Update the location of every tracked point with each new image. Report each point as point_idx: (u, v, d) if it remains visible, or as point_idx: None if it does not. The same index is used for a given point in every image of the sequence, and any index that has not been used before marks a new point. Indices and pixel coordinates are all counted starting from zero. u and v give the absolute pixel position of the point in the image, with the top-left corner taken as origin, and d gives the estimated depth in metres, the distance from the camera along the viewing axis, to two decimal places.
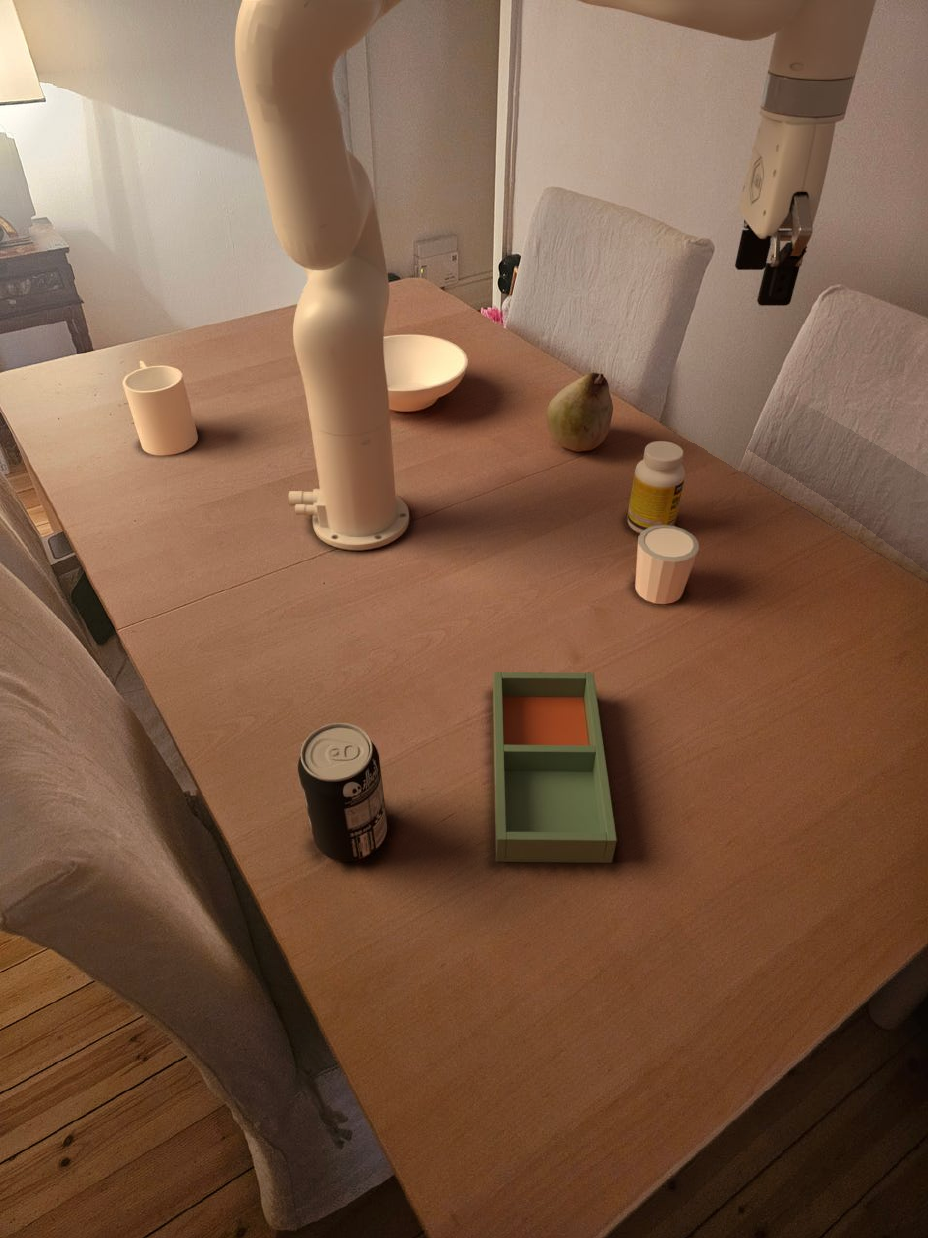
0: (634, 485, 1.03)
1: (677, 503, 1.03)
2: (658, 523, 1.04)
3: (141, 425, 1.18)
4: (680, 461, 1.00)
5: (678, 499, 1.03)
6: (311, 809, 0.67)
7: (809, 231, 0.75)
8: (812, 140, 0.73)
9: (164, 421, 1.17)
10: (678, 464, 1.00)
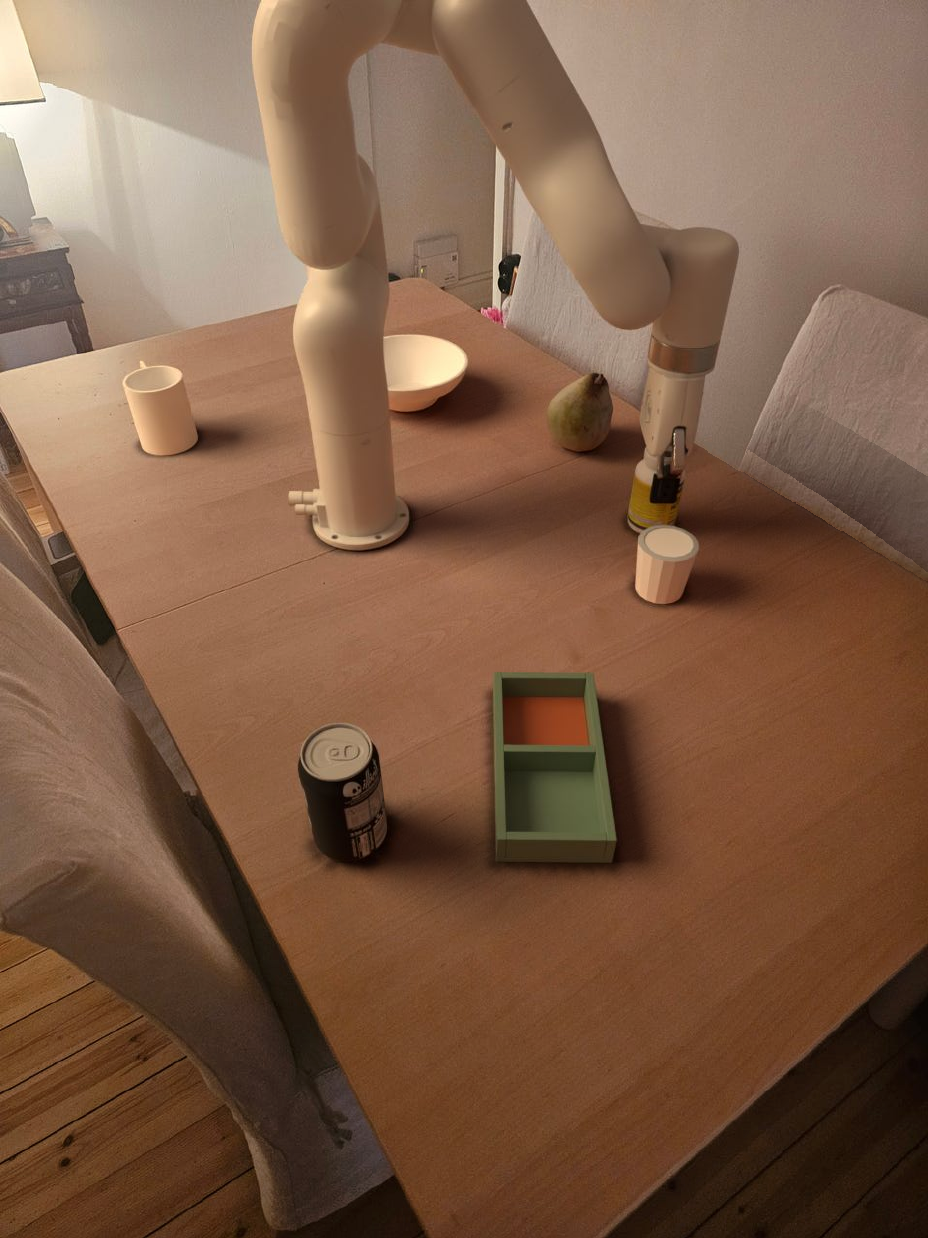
0: (634, 485, 1.03)
1: (677, 503, 1.03)
2: (658, 523, 1.04)
3: (141, 425, 1.18)
4: None
5: (678, 499, 1.03)
6: (311, 809, 0.67)
7: (681, 468, 0.93)
8: (686, 390, 0.90)
9: (164, 421, 1.17)
10: None
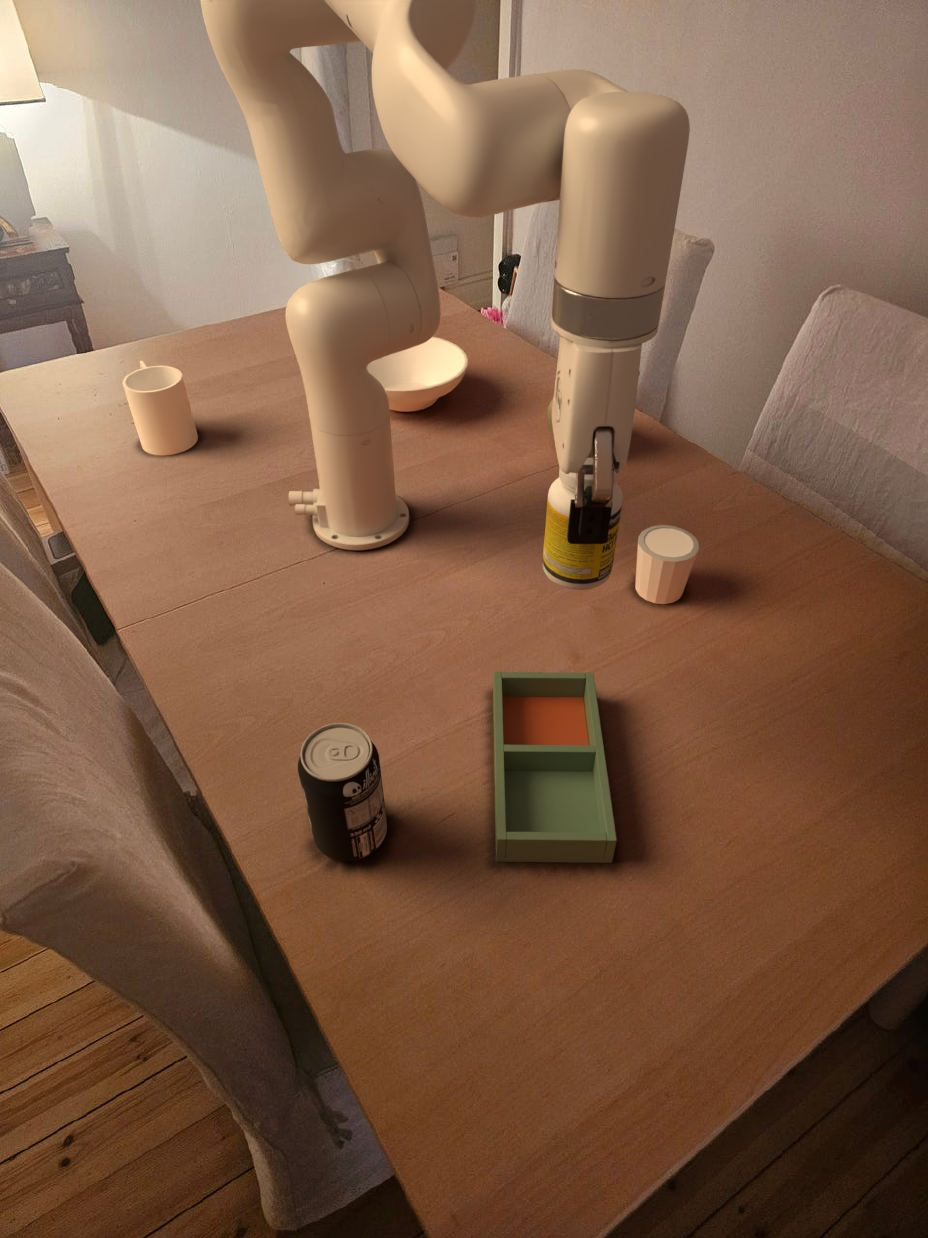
0: (547, 515, 0.69)
1: (612, 542, 0.69)
2: (585, 572, 0.69)
3: (141, 425, 1.18)
4: None
5: (613, 536, 0.68)
6: (311, 809, 0.67)
7: (608, 493, 0.58)
8: (610, 368, 0.55)
9: (164, 421, 1.17)
10: None
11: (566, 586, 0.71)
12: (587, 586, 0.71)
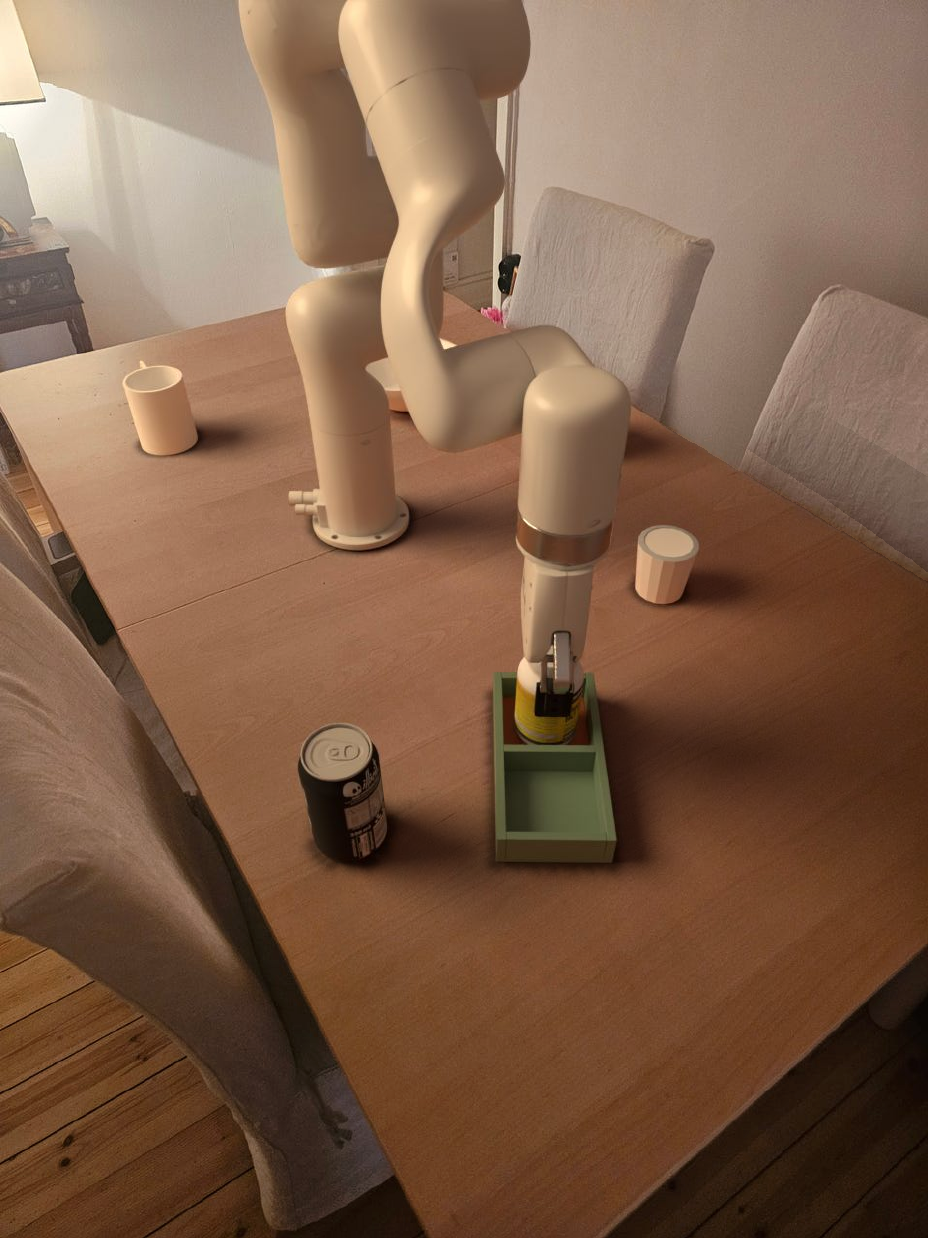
0: (517, 688, 0.77)
1: (575, 712, 0.77)
2: (550, 737, 0.78)
3: (141, 425, 1.18)
4: (574, 665, 0.73)
5: (576, 708, 0.77)
6: (311, 809, 0.67)
7: (566, 684, 0.64)
8: (565, 588, 0.63)
9: (164, 421, 1.17)
10: None
11: None
12: None
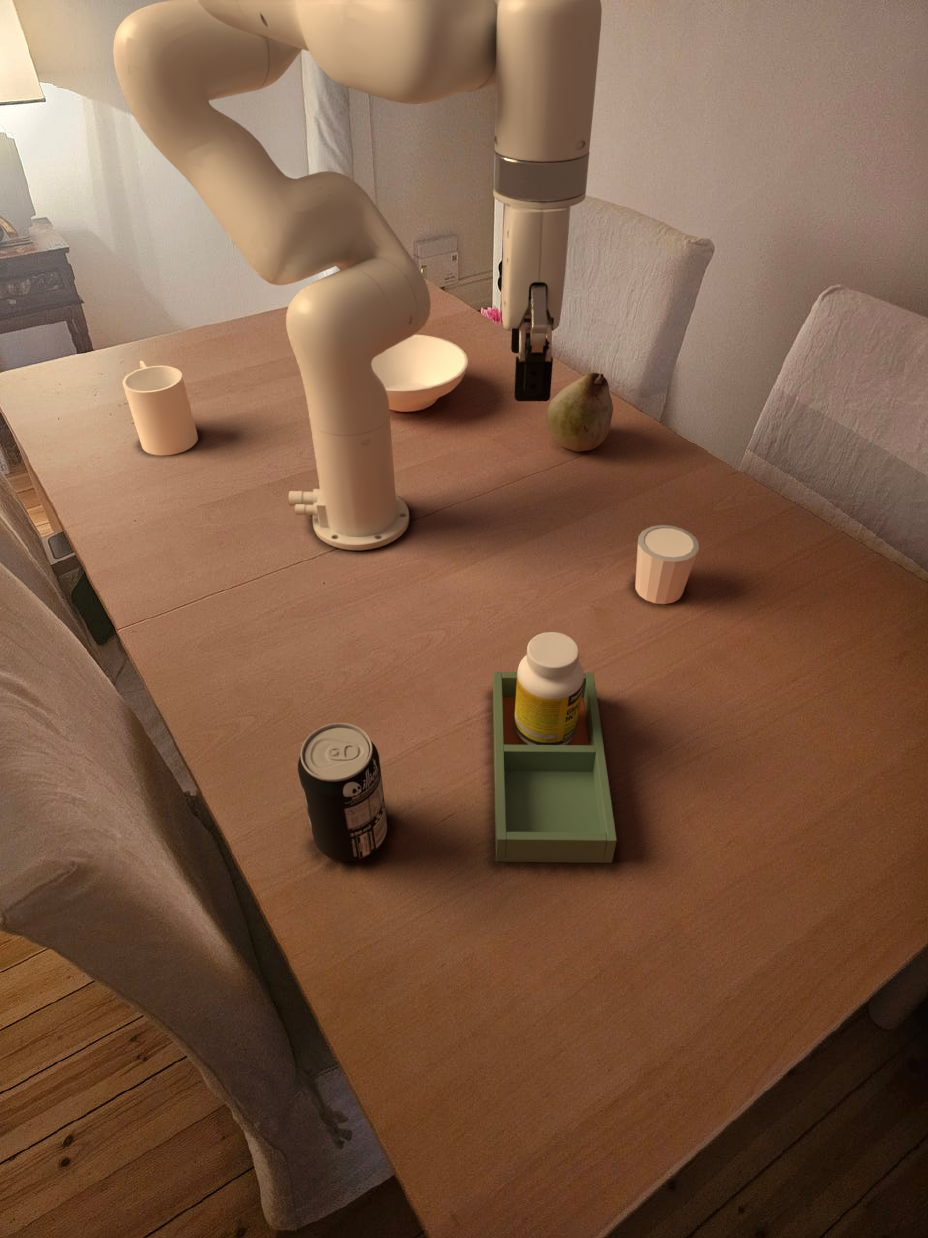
0: (517, 688, 0.77)
1: (575, 712, 0.77)
2: (550, 737, 0.78)
3: (141, 425, 1.18)
4: (574, 665, 0.73)
5: (576, 708, 0.77)
6: (311, 809, 0.67)
7: (543, 329, 0.66)
8: (541, 227, 0.64)
9: (164, 421, 1.17)
10: (571, 669, 0.73)
11: None
12: None
